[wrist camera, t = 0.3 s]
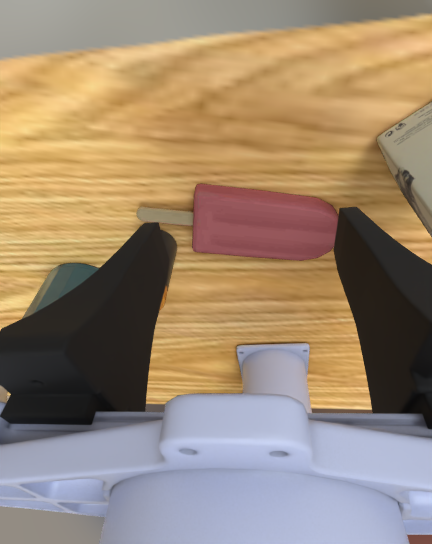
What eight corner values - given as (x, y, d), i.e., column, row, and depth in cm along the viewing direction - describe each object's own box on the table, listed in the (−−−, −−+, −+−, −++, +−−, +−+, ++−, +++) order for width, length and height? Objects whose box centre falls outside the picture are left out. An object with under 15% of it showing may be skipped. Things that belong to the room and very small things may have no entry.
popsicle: (130, 186, 22) (354, 209, 22) (136, 175, 23) (348, 196, 23) (138, 247, 26) (328, 266, 26) (142, 235, 27) (325, 253, 27)
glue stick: (181, 258, 28) (170, 313, 24) (143, 261, 29) (125, 315, 24) (171, 226, 26) (157, 281, 22) (130, 230, 26) (109, 284, 22)
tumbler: (135, 312, 34) (119, 364, 30) (69, 315, 35) (45, 366, 31) (108, 260, 29) (85, 314, 25) (33, 265, 30) (-3, 318, 26)
